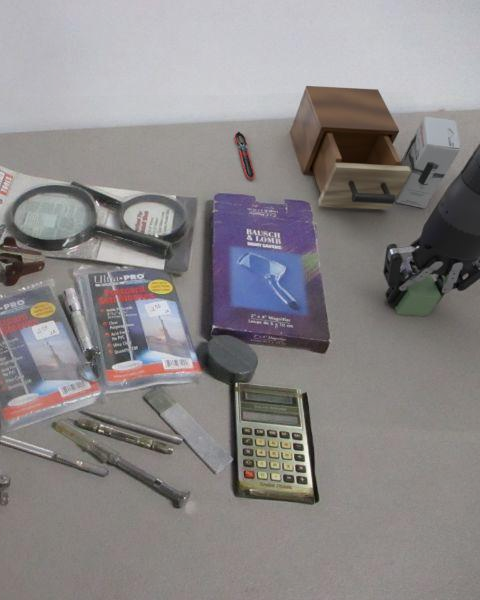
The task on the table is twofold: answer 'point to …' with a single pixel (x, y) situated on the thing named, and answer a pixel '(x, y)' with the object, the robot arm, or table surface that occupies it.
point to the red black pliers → (244, 155)
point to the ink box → (428, 160)
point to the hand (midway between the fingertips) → (408, 302)
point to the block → (419, 298)
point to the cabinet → (337, 118)
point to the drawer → (358, 170)
